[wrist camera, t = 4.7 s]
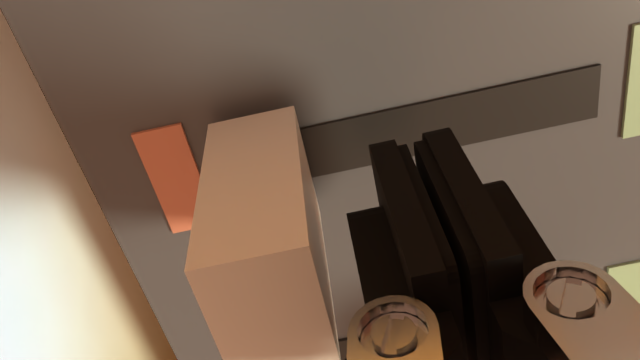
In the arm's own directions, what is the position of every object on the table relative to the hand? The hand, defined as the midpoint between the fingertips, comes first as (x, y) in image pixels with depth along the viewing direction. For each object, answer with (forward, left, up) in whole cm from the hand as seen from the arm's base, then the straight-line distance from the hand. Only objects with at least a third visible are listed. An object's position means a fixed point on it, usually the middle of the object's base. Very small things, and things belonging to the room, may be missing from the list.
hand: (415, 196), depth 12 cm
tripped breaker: (0, -3, -2) cm, 4 cm away
